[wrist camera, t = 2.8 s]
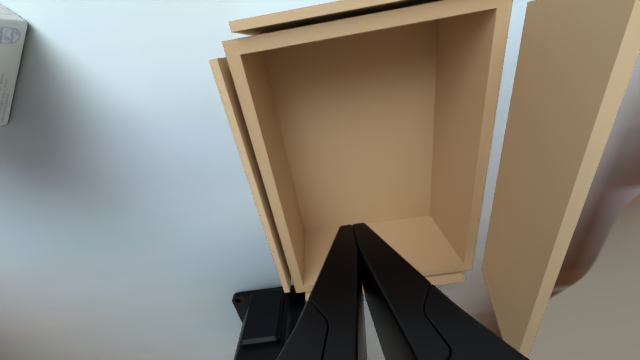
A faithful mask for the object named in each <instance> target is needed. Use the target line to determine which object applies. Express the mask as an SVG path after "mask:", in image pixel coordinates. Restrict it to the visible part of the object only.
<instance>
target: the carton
mask: <svg viewBox="0 0 640 360" xmlns="http://www.w3.org/2000/svg"><path fill="white" fill-rule="evenodd" d="M512 3H513V0H341V1H336V2H330V3H325V4H320V5H314V6H309V7H304V8H299V9H293V10H288V11H283V12H277V13H272V14H267V15H262V16H256V17H251V18H246V19H241V20H235V21H230V22H229V25H230V28H231V32H234V33H240V34H246V35H252V36H249V37H244V38H238V39H233V40H227V41H222V44H223V47H224V51H225V54H226V58H219V59H213V60H209V63H210V66H211V69H212V72H213V75H214V78H215V81H216V84H217V87H218V90H219V93H220V96H221V100H222V103H223V106H224V109H225V112H226V115H227V118H228V121H229V124H230V127H231V130H232V133H233V136H234V139H235V142H236V146H237V149H238V152H239V155H240V158H241V161H242V164H243V167H244V170H245V173H246V176H247V179H248V182H249V185H250V188H251V192H252V195H253V198H254V201H255V204H256V207H257V210H258V213H259V216H260V219H261V222H262V225H263V228H264V231H265V234H266V238H267V241H268V244H269V247H270V250H271V253H272V256H273V259H274V262H275V265H276V268H277V271H278V274H279V277H280V280H281V284H282V287H283V290H284V293H287V292H290V285H291V277H292V280H293V284H294V287H295V290H296V293H301V292H305V300H306V302H307V301H308V298H309V295H310V293H311V291H312V288H313V286H314V284H315V282H316V279H317V277H318V275H319V273H320V270H321V268H322V266H323V263H324V261H325V259H326V257H327V254H328V252H329V250H330V247H331V245H332V243H333V241H334V238H335V236H336V234H337V231H338V229H339V227H340V226H342V225H349V224H351V225H353V224H356V223H365V224H366V225H368V226H369V227H370V228H371V229H372V230H373V231H374V232H375V233H376V234H378V235H379V236H380V237H381V238H382V239H383V240H384V241H385V242H386V243H388V244H389V245H390V246H391V247H392V248H393V249H394V250H395V251H396V252H398V253H399V254H400V255H401V256H402V257H403V258H404V259H405V260H406V261H408V262H409V263H410V264H411V265H412V266H413V267H414V268H415V269H416V270H418V271H419V272H420V273H421V274H422V275H423V276H424V277H425V278H426V279H428V280H429V281H430V282H431V284H433V285H434V286H435V285H443V284H450V283H458V282H465V276H464V275H463V273H462V272H461V271H467V270H472V268H473V261H474V255H475V248H476V242H477V235H478V228H479V222H480V215H481V208H482V202H483V195H484V189H485V182H486V175H487V169H488V162H489V155H490V149H491V142H492V135H493V129H494V122H495V116H496V109H497V102H498V96H499V89H500V82H501V76H502V69H503V63H504V56H505V49H506V43H507V36H508V29H509V23H510V16H511V10H512ZM362 289H363V286H362ZM363 295H365V294H364V291H363Z"/></svg>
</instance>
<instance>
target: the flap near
mask: <svg viewBox="0 0 640 360" xmlns="http://www.w3.org/2000/svg"><path fill="white" fill-rule="evenodd" d="M639 52H640V0H535V1H530V2H528V3H527V9H526V15H525V21H524V26H523V32H522V38H521V44H520V50H519V55H518V61H517V67H516V73H515V78H514V84H513V90H512V96H511V101H510V107H509V113H508V119H507V125H506V130H505V136H504V142H503V148H502V153H501V159H500V165H499V171H498V177H497V182H496V188H495V194H494V200H493V205H492V211H491V217H490V223H489V229H488V234H487V240H486V246H485V252H484V257H483V263H482V272H483V276H484V279H485V282H486V285H487V289H488V292H489V295H490V299H491V302H492V305H493V309H494V312H495V315H496V318H497V322H498V325H499V328H500V332H501V335H502V338H503V340H504V341H505V342H506V343H508V344H509V345H510V346H512V347H513V348H514V349H516V350H517V351H518V352H520V353H521V354H522V355H524V356H525V357H527V358H528V356H529V353H530V350H531V347H532V345H533V342H534V339H535V337H536V334H537V331H538V328H539V326H540V323H541V320H542V318H543V315H544V312H545V309H546V307H547V304H548V301H549V298H550V296H551V293H552V290H553V287H554V285H555V282H556V279H557V276H558V274H559V271H560V268H561V265H562V263H563V260H564V257H565V255H566V252H567V249H568V246H569V244H570V241H571V238H572V235H573V233H574V230H575V227H576V224H577V222H578V219H579V216H580V213H581V211H582V208H583V205H584V202H585V200H586V197H587V194H588V192H589V189H590V186H591V183H592V181H593V178H594V175H595V172H596V170H597V167H598V164H599V161H600V159H601V156H602V153H603V150H604V148H605V145H606V142H607V140H608V137H609V134H610V131H611V129H612V126H613V123H614V120H615V118H616V115H617V112H618V109H619V107H620V104H621V101H622V98H623V96H624V93H625V90H626V87H627V85H628V82H629V79H630V77H631V74H632V71H633V68H634V66H635V63H636V60H637V57H638V55H639Z"/></svg>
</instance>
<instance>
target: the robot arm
mask: <svg viewBox="0 0 640 360" xmlns="http://www.w3.org/2000/svg"><path fill="white" fill-rule="evenodd" d="M362 286H363V289H362ZM363 291H364V294H365V297H366V301H367V304H368V307H369V310H370V313H371V316H372V319H373V323H374V326H375V329H376V332H377V335H378V338H379V341H380V345H381V348H382V351H383V354H384V357H385V360H529V359H528V358H527V357H525V356H524V355H522V354H521V353H520V352H518V351H517V350H516V349H514V348H513V347H512V346H510V345H509V344H508V343H506V342H505V341H504V340H502V339H501V338H500V337H498V336H497V335H495V334H494V333H493V332H491V331H490V330H489V329H487V328H486V327H485V326H483V325H482V324H481V323H479V322H478V321H477V320H475V319H474V318H473V317H471V316H470V315H469V314H468V313H466V312H465V311H464V310H462V309H461V308H460V307H458V306H457V305H456V304H455V303H454V302H453V301H451V300H450V299H449V298H448V297H447V296H446V295H444V294H443V293H442V292H441V291H440V290H439V289H438V288H437V287H435V286H434V285H433V284H431V282H430V281H429V280H428V279H426V278H425V277H424V276H423V275H422V274H421V273H420V272H419V271H418V270H416V269H415V268H414V267H413V266H412V265H411V264H410V263H409V262H408V261H406V260H405V259H404V258H403V257H402V256H401V255H400V254H399V253H398V252H396V251H395V250H394V249H393V248H392V247H391V246H390V245H389V244H388V243H386V242H385V241H384V240H383V239H382V238H381V237H380V236H379V235H378V234H376V233H375V232H374V231H373V230H372V229H371V228H370V227H369V226H368V225H366V224H365V223H356V224H353V225H351V224H349V225H342V226H340V227H339V229H338V231H337V234H336V236H335V238H334V241H333V243H332V245H331V247H330V250H329V252H328V254H327V257H326V259H325V261H324V263H323V266H322V268H321V270H320V273H319V275H318V277H317V279H316V282H315V284H314V286H313V288H312V291H311V293H310V295H309V298H308V301H307V302H306V300H305V292H301V293H296V290H295V287H294V285H292V286H290V292H287V293H284V290H283V287H277V288H269V289H262V290H254V291H247V292H239V293H235V294H234V296H233V299H232V302H233V304H234V306H235V308H236V310H237V313H238V315H239V317H240V319H241V321H242V323H243V325H242V329H241V333H240V337H239V341H238V345H237V349H236V353H235V357H234V360H367V351H366V334H365V317H364V300H363Z"/></svg>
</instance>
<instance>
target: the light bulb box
mask: <svg viewBox="0 0 640 360" xmlns="http://www.w3.org/2000/svg"><path fill="white" fill-rule="evenodd" d="M26 30H27V22H26V21H25V20H24V19H23V18H21V17H19V16H18V15H16V14H14V13H13V12H11V11H10V10H8V9H6V8H5V7H3V6H1V5H0V126H3V125H7V123H8V119H9V114H10V109H11V104H12V99H13V94H14V89H15V84H16V80H17V75H18V70H19V65H20V60H21V55H22V50H23V45H24V40H25V35H26Z"/></svg>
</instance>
